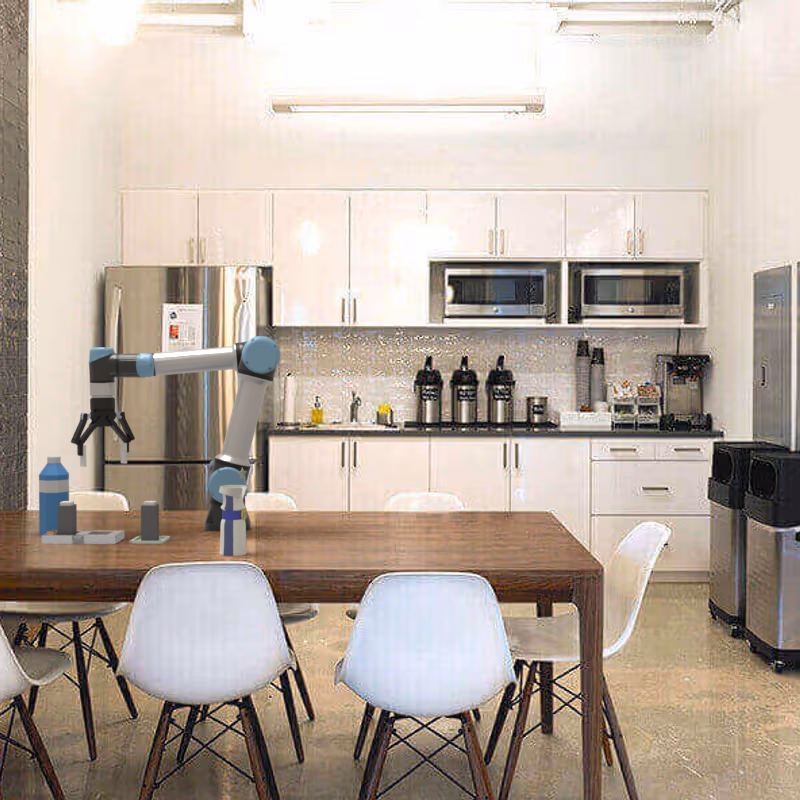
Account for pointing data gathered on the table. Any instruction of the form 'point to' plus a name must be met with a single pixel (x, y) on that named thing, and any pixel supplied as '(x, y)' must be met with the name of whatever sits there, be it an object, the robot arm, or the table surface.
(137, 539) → the tray
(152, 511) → the plug
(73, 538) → the pdu strip
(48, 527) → the water bottle
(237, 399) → the robot arm
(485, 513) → the table surface
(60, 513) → the twin plug
